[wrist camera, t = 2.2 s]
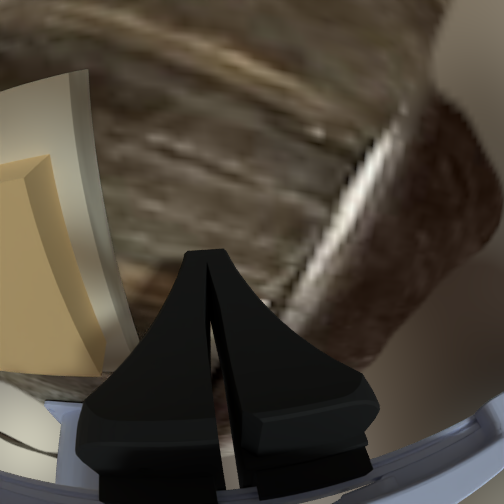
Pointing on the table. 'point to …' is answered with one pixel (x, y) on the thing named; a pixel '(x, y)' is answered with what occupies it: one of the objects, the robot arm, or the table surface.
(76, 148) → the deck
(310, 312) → the table surface
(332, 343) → the table surface
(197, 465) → the robot arm
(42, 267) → the tan rectangular block
